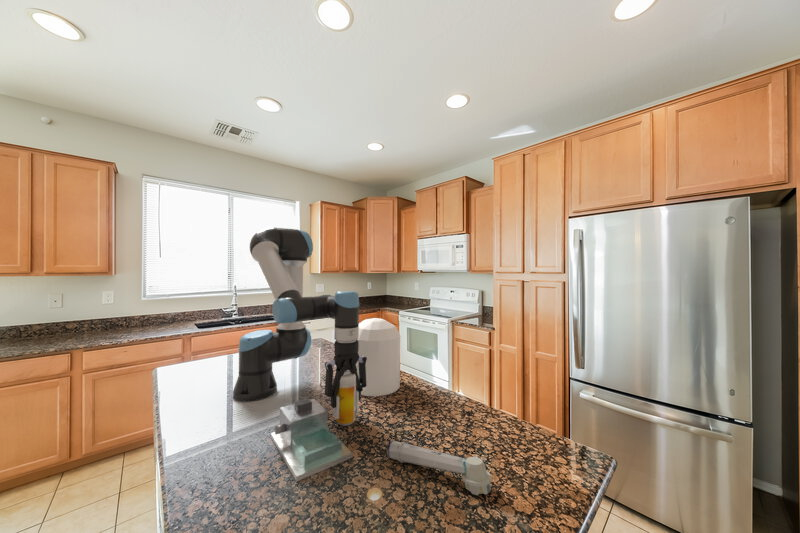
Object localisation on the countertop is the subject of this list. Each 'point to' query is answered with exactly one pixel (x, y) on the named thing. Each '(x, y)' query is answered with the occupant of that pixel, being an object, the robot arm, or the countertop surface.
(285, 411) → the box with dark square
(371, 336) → the container
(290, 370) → the countertop surface
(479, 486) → the toothbrush head
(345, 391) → the soda can
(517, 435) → the countertop surface
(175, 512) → the countertop surface
